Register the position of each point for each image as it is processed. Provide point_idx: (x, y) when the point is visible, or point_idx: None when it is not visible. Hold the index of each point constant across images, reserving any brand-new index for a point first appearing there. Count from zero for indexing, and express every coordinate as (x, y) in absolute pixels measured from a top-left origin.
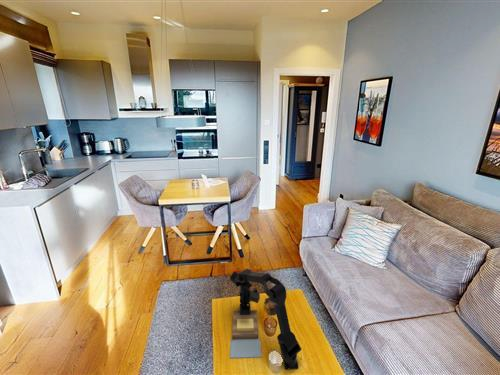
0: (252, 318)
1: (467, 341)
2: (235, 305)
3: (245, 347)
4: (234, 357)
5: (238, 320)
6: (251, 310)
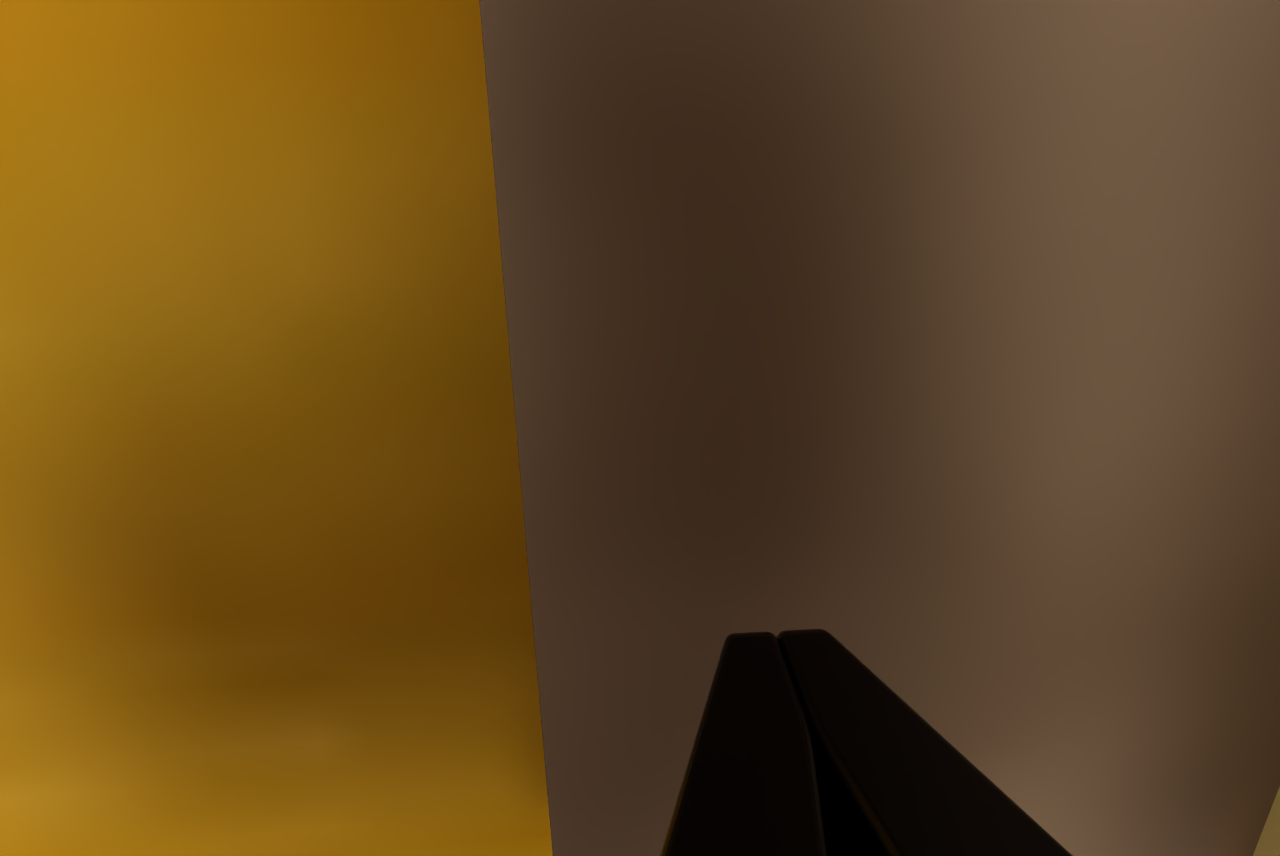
0: (1268, 137)
1: None
2: (26, 797)
3: None
4: None
5: None
6: (513, 217)
